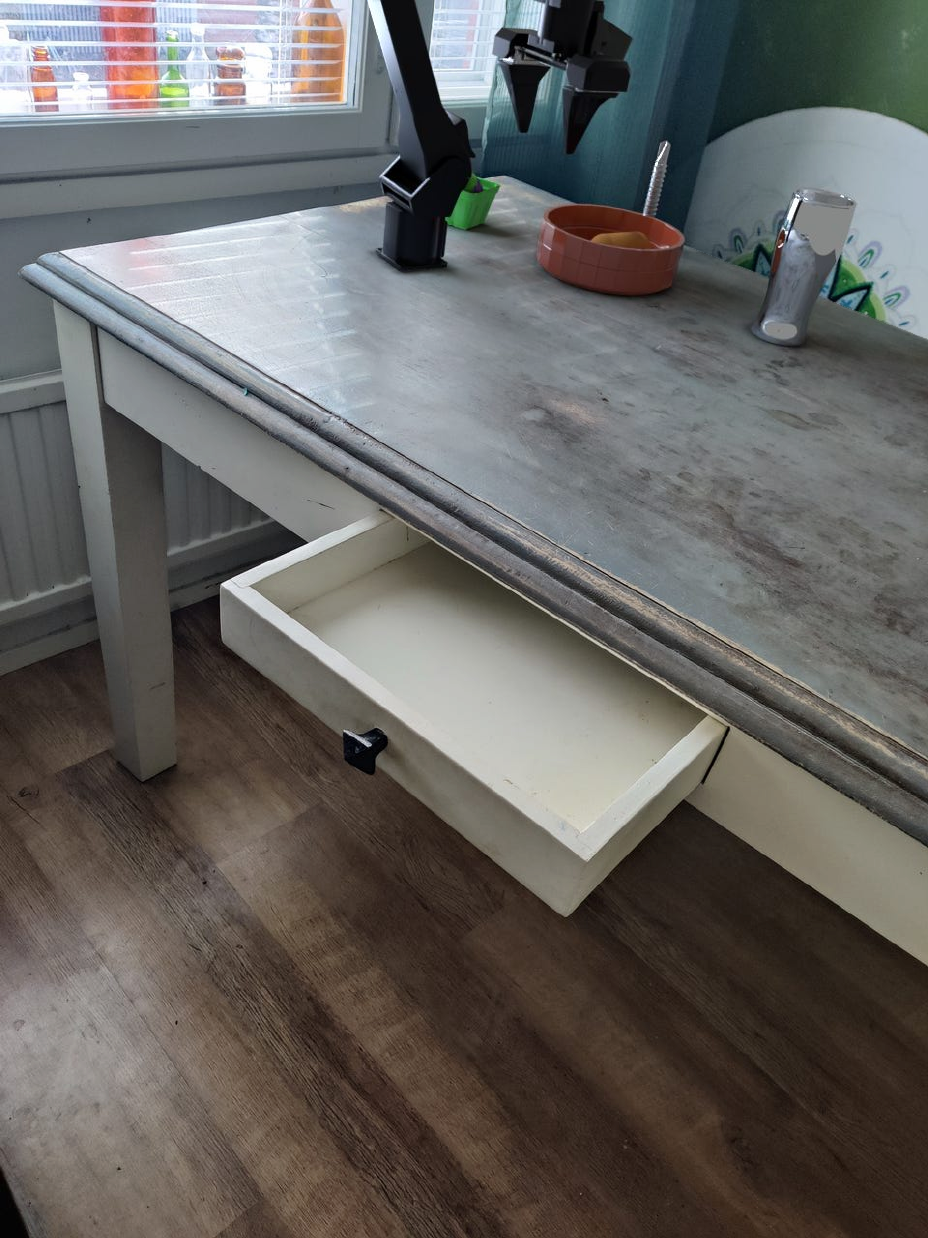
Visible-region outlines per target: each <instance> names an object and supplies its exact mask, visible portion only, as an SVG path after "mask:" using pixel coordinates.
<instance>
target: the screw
mask: <svg viewBox="0 0 928 1238" xmlns="http://www.w3.org/2000/svg"><path fill="white" fill-rule="evenodd" d="M670 149H671V143H670V142H669V141H668V140H667V139H666V140H664V141H662V142H660V145H659V148H658V152H657V157H656V160H654V165H653V170H651V172H652V173H651V174H652V175H650V177H651V179H650V180H649V182H650V183H649V184H648V189H647V194H646V198H645V199H644V200H645V203H644V204H643V205H644V207H643V208H642V210H643V212H642V213H641V214H644V215H647V216H650V217H653V218H656V217H655V216H656V215H657V212H656V211H657V210H658V208H657V206H659V203H658V202H659V201H660V197H661V196H662V195H661V192H662V191H663V190H662V188H663V187H664V185H663V183H664V182H665V180H664V178H666V175H665V174H666V173H667V167H668V165H667V163H668V162H667V161H668V157H669V154H670Z"/></svg>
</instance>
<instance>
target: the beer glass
mask: <svg viewBox="0 0 928 1238" xmlns="http://www.w3.org/2000/svg"><path fill="white" fill-rule="evenodd" d="M857 205H858V203H857V202H856V200H854V199H853V198H851V197H848V196H846V195H844V194H841V193H838V192H834V191H830V190H826V189H821V188H816V187H815V188H813V187H796V188H795V189H794V190H793V192H792V195H791V197H790V200H789V201H788V204H787V207H786V209H785V212H784V215H783V217H782V220H781V222H780V226H779V227H778V231H777V235H776V238H775V240H774V241H775V242H774V245H773V246H774V247H773V250H772V255H771V262H770V266H769V267H770V269H769V274H768V282H767V287H766V293H765V296H764V299H763V302H762V305H761V307H760V309H759V312H758V313H757V315H756V317H755V319H754V321H753V322H752V325H751V328H750V329H751V332H752V334H753V335H754V336H755V337H756V338H759V339H761V340H763V341H765V342H768V343H770V344H774V345H777V346H778V345H779V346H784V347H797V346H800V345H803V344H804V343H805V342H806V341H805V340H806V337H807V332H808V325H809V321H810V316H811V313H812V311H813V308H814V306H815V304H816V302H817V300H818V299H819V297H820V295H821V293H822V290H824V287H825V286H826V284H827V282H828V280H829V278H830V277H831V275H832V273H833V271H834V269H835V267H836V265H837V263H838V262H839V259H840V257H841V254H842V251H843V250H844V247H845V244H846V241H847V238H848V235H849V232H850V229H851V225H852V222H853V218H854V215H855V210H856V208H857Z"/></svg>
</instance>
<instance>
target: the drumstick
mask: <svg viewBox="0 0 928 1238" xmlns="http://www.w3.org/2000/svg"><path fill="white" fill-rule="evenodd" d="M591 241H593V242H597V243H601V244H605V245H611V246H617V247H623V248H633V249H651V245H650V241H649V239H648V238H647V237H646V236H645V235H644V234H642V233H640V232H623V233H608V234H600V235H597V236H595V237H594V238H593V239H592V240H591Z"/></svg>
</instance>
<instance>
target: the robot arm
mask: <svg viewBox="0 0 928 1238" xmlns="http://www.w3.org/2000/svg"><path fill="white" fill-rule="evenodd" d="M533 1H534V2H537V3H541V6H540V12H539V20H538V24H537V25H538V26H537V30H536V29H531V28H518V27H503V26H501V28H500V29H499V30H498V31H497V32H496V33H495V34H494V36H493V42H492V48H491V49H492V50H491V55H493V56H496V57H498V58H501V59H497V60H496V61H497V62H496V64H497V66H499V68H500V69H501V73H502V76H503V79H504V82H505V85H506V89H507V92H508V95H509V99H510V102H511V106H512V111H513V115H514V119H515V121H516V126H517V130H518V132H519V133H520V134H527V133H528V132H529V129H530V126H531V123H532V119H533V114H534V109H535V106H536V100H537V96H538V91H539V86H540V83H541V82H542V80H543V79H544V78H545V76H546V75H547V73H548V72H549V71H550V70H551V69H552V67H553V68H556V69H558V70H561V71H564V72H565V78H566V81H567V84H568V85H563V86H562V87H561V89H562V93H561V94H562V97H561V98H562V141H563V142H562V143H563V153H564V154H565V155H574V153H575V152H576V150H577V148H578V146H579V144H580V142H581V140H582V138H583V136H584V134H585V132H586V131H587V128H588V127H589V125H590V123H591V121H592V119H593V118H594V116H595V114H596V113H597V111H598V110H599V108H600V107H601V106H603V104H605V103H606V102H608V101H609V100H610V99H616V98H618V96H619V94H620V93H627V92H628V90H629V85H630V81H631V75H632V69H631V67H630V65H629V62H628V61H627V60H625V58H626V56H627V54H628V51H629V49H630V47H631V45H632V42H633V41H634V37H632V36H631V35H630V34H629V33H627V32H625V31H624V30H623V29H621V28H619V27H618V26H617V25H615V24H613V23H612V22H610V21H608V20H607V19H605V18H604V17H605V10H606V5H605V0H533ZM367 4H368V7H369V10H370V14H371V17H372V21H373V24H374V28H375V31H376V34H377V38H378V41H379V44H380V48H381V52H382V56H383V58H384V59H383V60H384V62H385V66H386V69H387V73H388V76H389V80H390V83H391V87H392V90H393V94H394V97H395V100H396V103H397V106H398V107H397V108H398V112H399V118H398V128H397V145H398V151H399V155H398V156H397V157H396V159H395V160H394V161H393V162H391V164H390V165H389V166H388V167H387V168H386V169H385V170H384V171H383V172H382V174H380V175H379V178H378V179H379V183H380V188H381V192H382V195H383V196H384V197H387V198H388V199H390V200H392V201H386V202H385V210H384V213H385V214H384V224H383V239H382V247H376V248H375V254H377V255H378V256H379V257H380V258H381V259H383V260H385V261H386V262H387V263H389V264H390V265H392V266H393V267H394V268H395V269H397V270H398V271H402V272H405V271H406V272H407V271H408V272H409V271H419V270H431V269H433V270H434V269H446V268H448V265H449V262H448V261H446V260H444V259H443V258H444V257H445V254H446V253H445V252H446V244H447V235H448V225H449V224H448V222H447V221H446V220H445V218H446V217H451V215H452V213H453V211H454V208H455V206H456V203H457V201H458V199H459V196H460V194H461V192H462V191H463V190H464V188H465V187H466V186H467V183H468V181H469V179H470V178H471V177H472V172H473V163H472V160H471V159H476V157H477V155H476V154H475V152H474V150H473V149H472V146H471V144H470V138H469V128H468V125H467V121H466V119H464V118H463V117H462V116H459V115H457V114H455V113H454V112H451V111H450V110H448V109H446V108H445V107H444V106H443V104H442V100H441V99H442V98H441V96H440V92H439V88H438V83H437V81H436V76H435V73H434V69H433V65H432V61H431V56H430V53H429V50H428V49H429V48H428V45H427V41H426V38H425V34H424V30H423V25H422V22H421V18H420V14H419V10H418V7H417V2H416V0H367ZM553 55H554V56H553Z"/></svg>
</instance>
